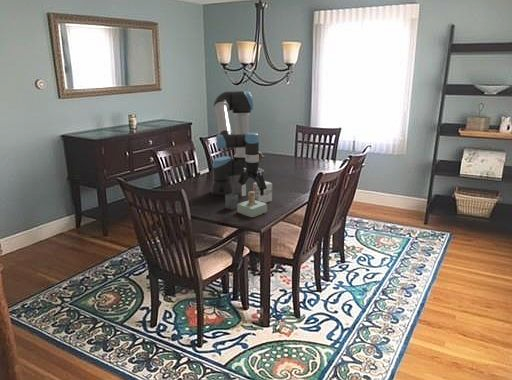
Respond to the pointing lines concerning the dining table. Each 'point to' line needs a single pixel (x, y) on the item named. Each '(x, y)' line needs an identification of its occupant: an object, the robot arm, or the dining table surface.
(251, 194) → the birch dowel
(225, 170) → the robot arm
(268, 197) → the ink box
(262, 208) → the socket block
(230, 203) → the dark grey block
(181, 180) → the dining table surface
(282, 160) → the dining table surface
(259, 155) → the cherub figurine
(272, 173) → the dining table surface
